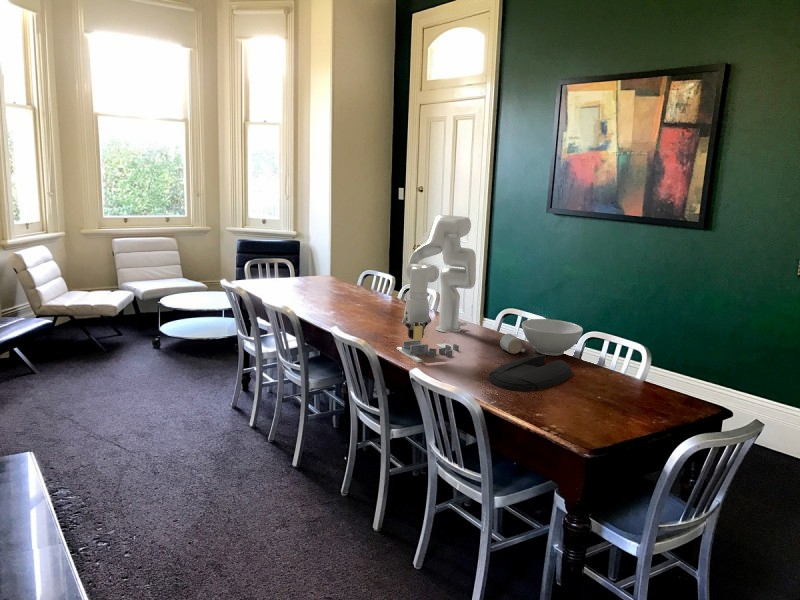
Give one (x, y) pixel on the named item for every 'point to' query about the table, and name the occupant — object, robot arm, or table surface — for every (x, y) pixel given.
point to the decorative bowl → (551, 335)
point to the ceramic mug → (511, 344)
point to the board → (434, 351)
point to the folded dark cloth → (530, 374)
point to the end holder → (414, 347)
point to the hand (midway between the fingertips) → (415, 337)
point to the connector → (417, 331)
